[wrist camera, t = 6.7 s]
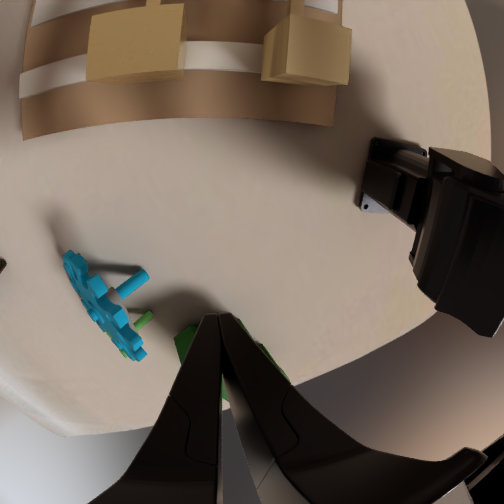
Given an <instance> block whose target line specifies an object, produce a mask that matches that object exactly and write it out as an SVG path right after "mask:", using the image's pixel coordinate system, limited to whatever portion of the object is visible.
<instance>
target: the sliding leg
mask: <svg viewBox="0 0 504 504" xmlns="http://www.w3.org/2000/svg"><path fill="white" fill-rule="evenodd" d="M162 4H163V0H147V1H146V6H144V7H136V8H129V9H123V10H117V11H112V12H107V13H102V14H98V15H94V16H92V19H91V26H90V33H89V42H88V52H87V64H86V81H90V82H98V83H105V84H112V85H123V84H131V83H141V82H152V81H166V80H184V70H185V56H186V44H187V33H188V29H187V22H186V14H185V7H184V3H181V4H164V5H162Z"/></svg>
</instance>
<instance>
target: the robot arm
mask: <svg viewBox="0 0 504 504" xmlns="http://www.w3.org/2000/svg"><path fill="white" fill-rule="evenodd" d="M377 141H378V145H377V146H376V142H377ZM422 152H423V154H422ZM428 155H429V158H427V151H426V150H425V149H422V148H419V147H415V146H412V145H408V144H404V143H400V142H396V141H391V140H387V139H382V138H378V137H374V138H372V140H371V143H370V149H369V155H368V161H367V164H366V169H365V175H364V180H363V185H362V193H361V198H360V202H359V209H360V210H362V211H363V212H374V213H391V214H393V215H394V216H395V217H397V218H398V219H399V220H401V221H402V222H403V223H405V224H406V225H407V226H408V227H410V228H411V229H412V230H414V231H415V232H416V235H415V240H414V244H413V248H412V251H411V252H410V254H409V260H410V262H411V264H412V266H413V272H414V274H415V276H416V278H417V280H418V283H417V286H418V288H419V289H420V290H421V291H422V292H423V293H424V294H425V295H426V296H427V297H428V298H429V299H430V300H432V301H433V302H434V303H436V305H435V307H434V308H435V310H437V311H440V312H443V313H447V314H450V315H451V316H454V317H455V318H457V319H459V320H461V321H462V322H463V323H465V324H466V325H467V326H468V327H470V328H471V329H472V330H473V331H475V332H476V333H477V334H478V335H481V336H486V337H494V335H495V334H496V332H497V331H498V329H499V328H500V326H501V324H502V323H504V174H503V173H501V171H500V170H499V169H498V168H497V167H496V166H494V165H493V164H492V163H491V162H490V161H488V160H486V159H484V158H481V157H478V156H476V155H473V154H470V153H467V152H463V151H456V150H450V149H442V148H434V147H429V152H428ZM365 204H366V206H365V207H364V205H365ZM222 376H223V381H224V385H225V389H226V392H227V396H228V400H229V403H230V407H231V410H232V414H233V417H234V421H235V424H236V428H237V431H238V434H239V437H240V440H241V444H242V447H243V450H244V453H245V457H246V460H247V463H248V466H249V469H250V472H251V475H252V478H253V481H254V484H255V487H256V489H257V492H258V495H259V498H260V501H261V503H262V504H504V434H503V435H502V436H500V437H499V438H498V439H497V440H495V441H494V442H493V443H491V444H490V445H489V446H488V447H486V448H484V449H483V450H482V451H479V450H476V449H472V448H469V447H464V448H462V449H461V450H459V451H458V452H456V453H455V454H453V455H452V456H450V457H449V458H447V459H446V460H443V461H425V460H419V459H414V458H409V457H404V456H399V455H394V454H390V453H386V452H382V451H378V450H374V449H371V448H369V447H366V446H364V445H362V444H361V443H359V442H357V441H356V440H355V439H353V438H352V437H351V436H349V435H348V434H347V433H345V432H344V431H343V430H341V429H340V428H339V427H338V426H336V425H335V424H334V423H333V422H331V421H330V420H329V419H328V418H326V417H325V416H323V414H322V413H320V412H319V411H318V410H317V409H316V408H315V407H313V406H312V405H311V404H310V403H309V402H308V401H307V400H306V399H305V398H304V397H303V396H302V395H301V394H300V392H299V391H298V390H297V389H296V388H295V387H294V386H293V385H291V383H290V382H289V380H288V379H287V378H286V377H285V376H284V375H283V374H282V373H281V371H280V370H279V369H278V368H277V367H276V366H275V365H274V363H273V362H272V361H271V360H270V359H269V358H268V357H267V355H266V354H265V353H264V352H263V351H262V350H261V348H260V347H259V346H258V345H257V344H256V343H255V341H254V340H253V339H252V338H251V337H250V335H249V334H248V333H247V332H246V331H245V329H244V328H243V327H242V326H241V325H240V323H239V322H238V321H237V320H236V318H235V317H234V316H233V315H232V314H231V313H229V312H228V313H219V314H218V316H217V314H216V313H209V314H204V315H203V317H202V320H201V322H200V324H199V326H198V329H197V331H196V333H195V335H194V338H193V340H192V342H191V344H190V347H189V349H188V351H187V354H186V356H185V358H184V360H183V363H182V365H181V367H180V370H179V372H178V374H177V376H176V379H175V381H174V383H173V386H172V388H171V390H170V393H169V396H168V397H167V399H166V402H165V404H164V406H163V408H162V411H161V413H160V415H159V417H158V419H157V421H156V423H155V425H154V426H153V428H152V430H151V432H150V434H149V435H148V437H147V438H146V440H145V442H144V443H143V445H142V446H141V448H140V450H139V451H138V453H137V455H136V456H135V458H134V460H133V461H132V463H131V464H130V466H129V467H128V469H127V471H126V472H125V473H124V474H123V476H122V477H121V478H120V479H119V480H118V481H117V482H116V483H114V484H113V485H112V486H111V487H109V488H108V489H107V490H105V491H104V492H103V493H101V494H100V495H99V496H97V497H96V498H95V499H93V500H92V501H90V502H89V503H88V504H223V497H222Z"/></svg>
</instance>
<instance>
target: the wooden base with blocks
mask: <svg viewBox="0 0 504 504" xmlns="http://www.w3.org/2000/svg"><path fill="white" fill-rule="evenodd" d="M146 1H147V0H34V1H33V5H32V9H31V14H30V19H29V24H28V29H27V35H26V42H25V50H24V59H23V71H22V74H20V82H19V99H21V113H22V135H23V140H27V139H31V138H35V137H39V136H43V135H48V134H52V133H57V132H62V131H67V130H72V129H77V128H83V127H89V126H96V125H103V124H110V123H118V122H127V121H138V120H150V119H165V118H193V117H223V118H251V119H267V120H279V121H290V122H299V123H308V124H316V125H323V126H330V127H333V123H334V114H335V105H336V95H337V85H348V80H349V68H350V55H351V38H352V29H349V28H346V27H343V26H342V0H163V4H162V5H164V4H181V3H184V7H185V14H186V22H187V29H188V33H187V44H186V56H185V70H184V80H166V81H152V82H141V83H131V84H123V85H112V84H105V83H98V82H90V81H86V64H87V52H88V42H89V33H90V26H91V19H92V16H94V15H98V14H102V13H107V12H112V11H117V10H123V9H129V8H136V7H144V6H146Z"/></svg>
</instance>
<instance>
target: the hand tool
mask: <svg viewBox="0 0 504 504" xmlns="http://www.w3.org/2000/svg"><path fill="white" fill-rule="evenodd" d="M6 264H7V263H6V262H3V261H0V273H1V272H2V271H3V269H4V268H5V267H6Z"/></svg>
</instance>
